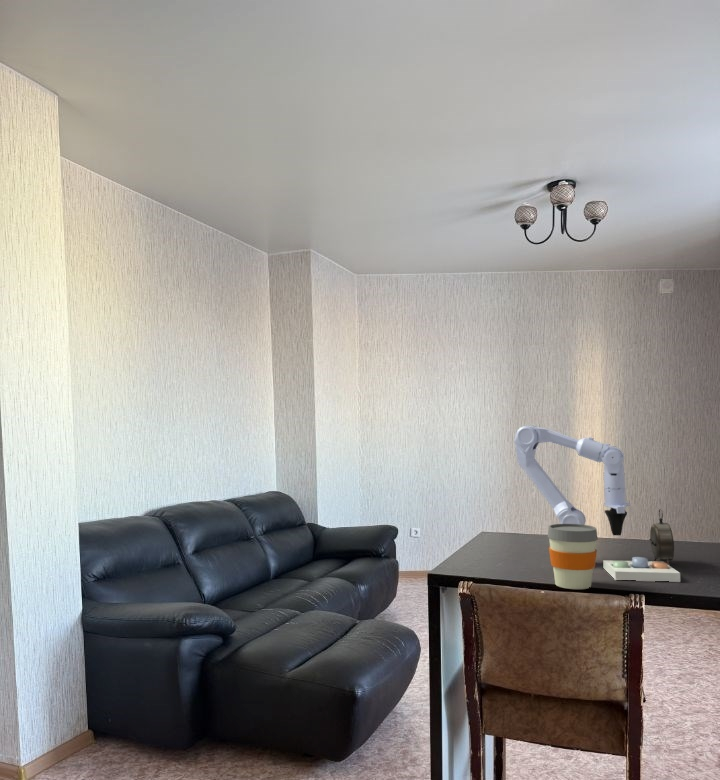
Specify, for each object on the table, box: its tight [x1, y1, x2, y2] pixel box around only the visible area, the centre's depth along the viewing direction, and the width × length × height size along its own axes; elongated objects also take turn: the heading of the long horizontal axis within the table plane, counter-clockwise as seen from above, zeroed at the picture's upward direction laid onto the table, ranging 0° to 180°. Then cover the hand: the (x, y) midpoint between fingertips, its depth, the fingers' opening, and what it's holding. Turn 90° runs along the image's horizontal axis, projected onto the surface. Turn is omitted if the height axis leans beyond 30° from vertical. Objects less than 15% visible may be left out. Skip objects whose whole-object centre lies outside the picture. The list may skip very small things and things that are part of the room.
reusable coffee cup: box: [547, 523, 598, 590], centre depth 179 cm, size 13×12×15 cm
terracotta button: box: [652, 561, 668, 569], centre depth 189 cm, size 4×4×3 cm
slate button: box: [631, 556, 649, 568], centre depth 189 cm, size 4×4×3 cm
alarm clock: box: [648, 508, 675, 567], centre depth 204 cm, size 11×5×16 cm, turn 168°
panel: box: [602, 559, 681, 583], centre depth 189 cm, size 17×14×2 cm
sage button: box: [612, 560, 628, 568], centre depth 190 cm, size 4×4×3 cm
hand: (616, 535), depth 199 cm, fingers closed
